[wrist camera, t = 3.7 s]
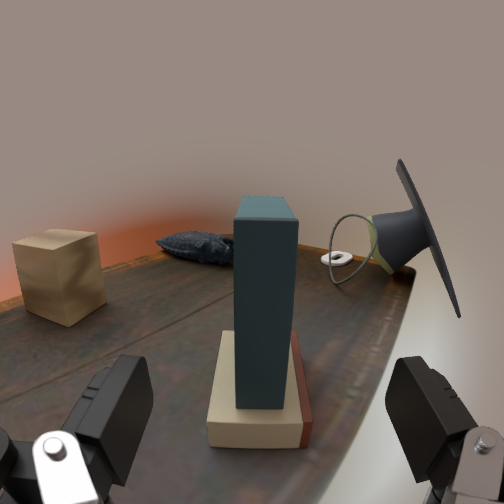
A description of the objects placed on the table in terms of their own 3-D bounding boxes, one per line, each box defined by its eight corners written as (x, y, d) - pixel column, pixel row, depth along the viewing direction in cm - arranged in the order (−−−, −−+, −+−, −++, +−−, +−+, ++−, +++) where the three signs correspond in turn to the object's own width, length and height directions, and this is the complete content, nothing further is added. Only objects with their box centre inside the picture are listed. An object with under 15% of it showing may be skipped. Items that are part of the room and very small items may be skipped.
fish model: (221, 273, 53) (221, 243, 51) (147, 250, 64) (146, 226, 63) (246, 263, 58) (246, 236, 56) (171, 243, 70) (170, 221, 68)
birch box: (68, 327, 33) (52, 249, 30) (26, 310, 36) (11, 242, 33) (106, 302, 41) (97, 232, 38) (62, 290, 43) (52, 228, 40)
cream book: (307, 447, 19) (313, 421, 19) (209, 446, 20) (206, 420, 19) (293, 356, 31) (295, 330, 30) (223, 354, 31) (222, 329, 30)
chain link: (340, 265, 56) (316, 259, 59) (339, 268, 56) (316, 262, 59) (356, 254, 62) (334, 249, 65) (355, 257, 62) (334, 252, 65)
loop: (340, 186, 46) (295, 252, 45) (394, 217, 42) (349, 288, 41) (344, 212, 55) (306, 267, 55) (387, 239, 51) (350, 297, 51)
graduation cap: (395, 345, 40) (462, 320, 35) (329, 193, 40) (401, 157, 35) (396, 281, 65) (437, 263, 60) (352, 184, 64) (395, 163, 59)
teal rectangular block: (235, 409, 20) (233, 219, 16) (241, 339, 29) (242, 195, 25) (283, 409, 20) (299, 220, 16) (277, 339, 29) (284, 196, 25)
